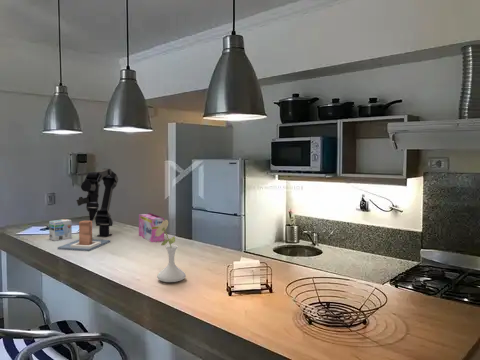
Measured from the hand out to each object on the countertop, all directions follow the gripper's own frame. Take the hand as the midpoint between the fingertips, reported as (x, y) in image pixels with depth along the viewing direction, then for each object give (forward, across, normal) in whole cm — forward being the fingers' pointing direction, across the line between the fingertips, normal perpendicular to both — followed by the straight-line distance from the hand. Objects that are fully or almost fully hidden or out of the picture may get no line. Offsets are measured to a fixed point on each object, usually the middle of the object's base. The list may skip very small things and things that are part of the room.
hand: (91, 221), depth 224 cm
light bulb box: (+11, -18, -16) cm, 26 cm away
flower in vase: (+25, +77, +30) cm, 87 cm away
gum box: (+9, -4, +34) cm, 36 cm away
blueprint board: (+13, +4, -2) cm, 14 cm away
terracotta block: (+13, +9, -2) cm, 16 cm away
